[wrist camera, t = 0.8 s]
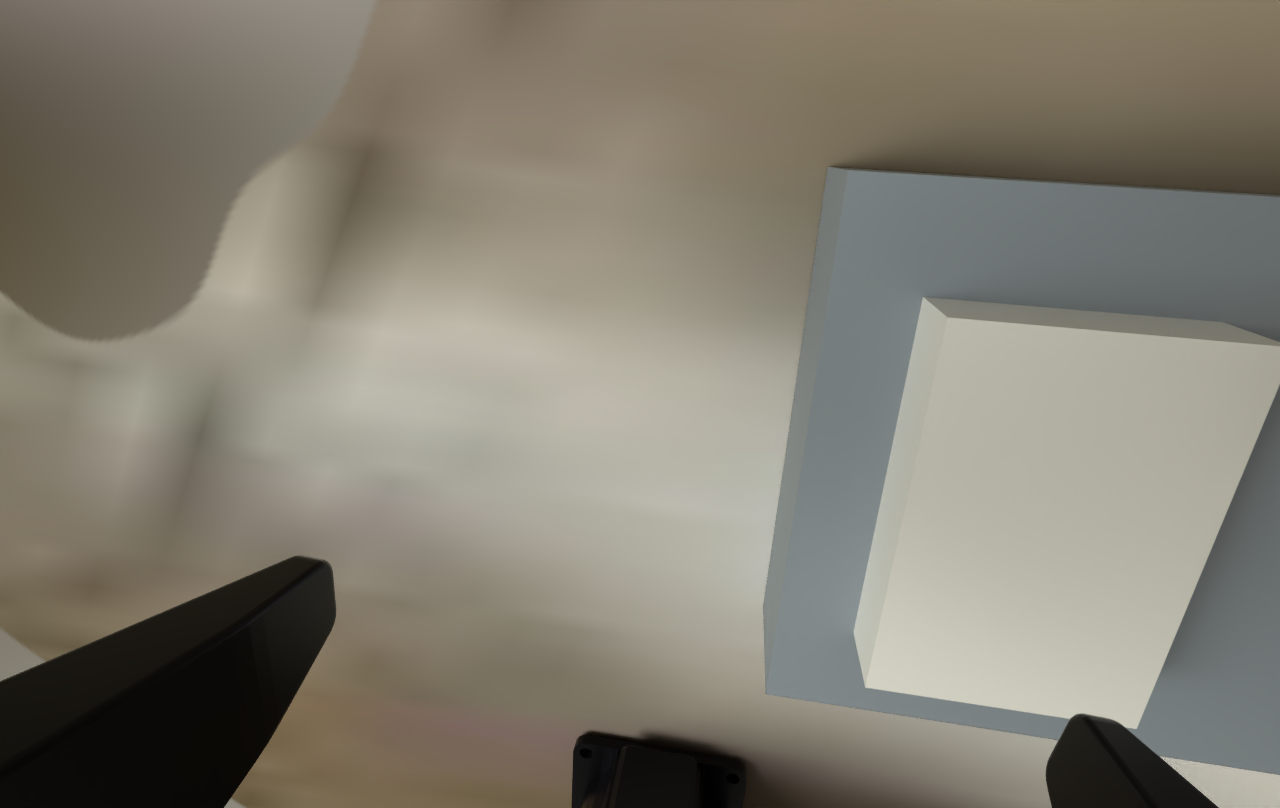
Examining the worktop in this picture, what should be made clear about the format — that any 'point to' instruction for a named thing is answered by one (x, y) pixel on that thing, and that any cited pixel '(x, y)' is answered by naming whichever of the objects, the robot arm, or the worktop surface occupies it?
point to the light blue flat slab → (1032, 276)
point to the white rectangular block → (1054, 502)
